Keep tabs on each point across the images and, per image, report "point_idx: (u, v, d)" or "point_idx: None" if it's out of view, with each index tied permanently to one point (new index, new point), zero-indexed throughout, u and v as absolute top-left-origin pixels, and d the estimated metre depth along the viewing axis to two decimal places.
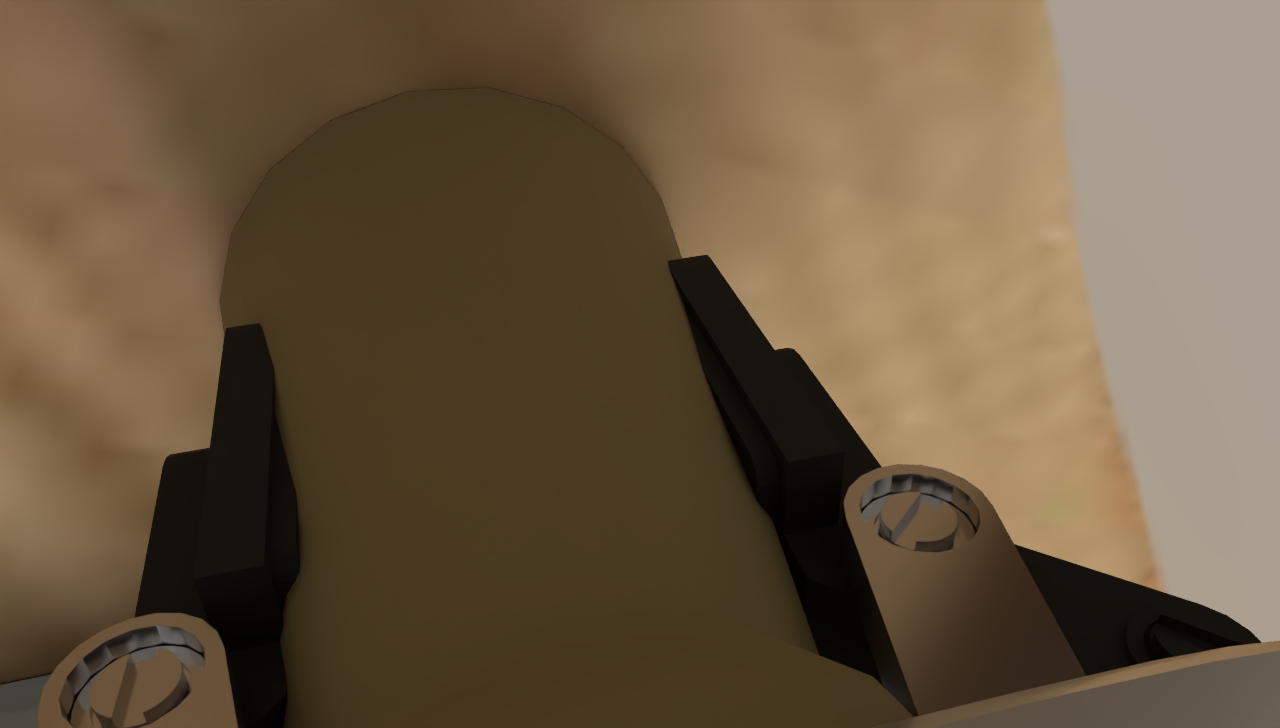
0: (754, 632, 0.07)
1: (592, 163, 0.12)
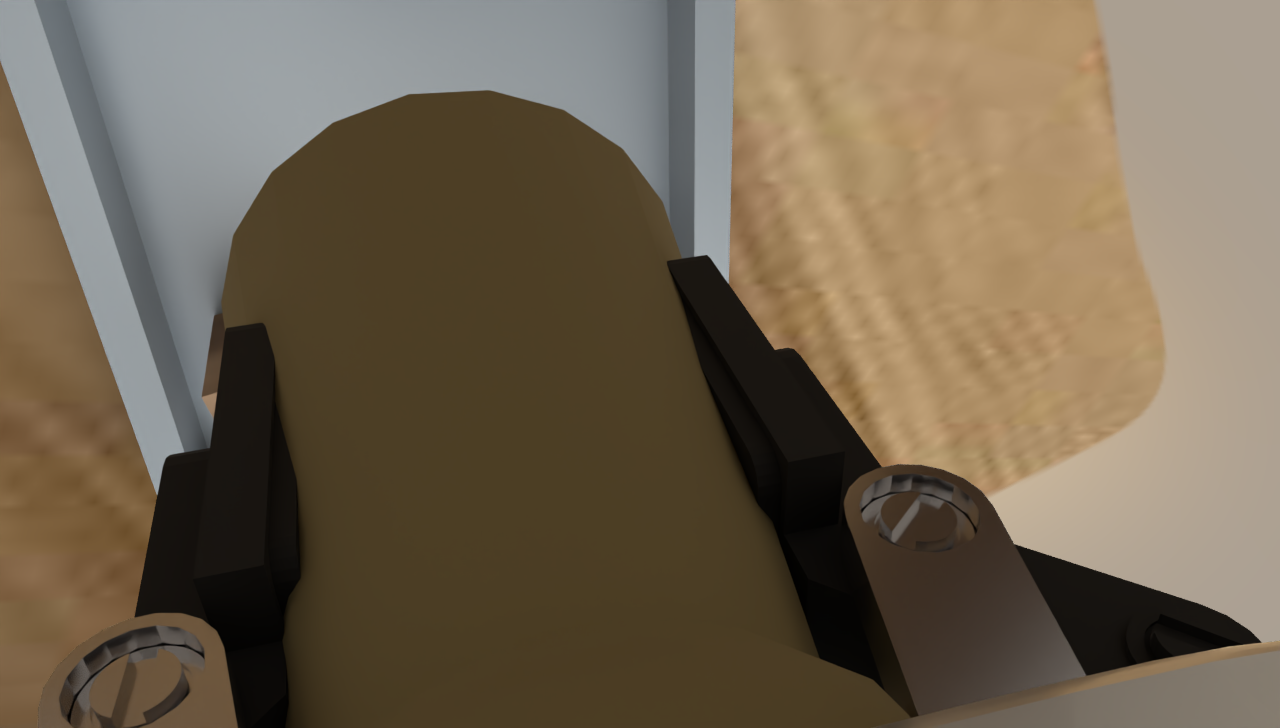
0: (755, 635, 0.07)
1: (593, 165, 0.12)
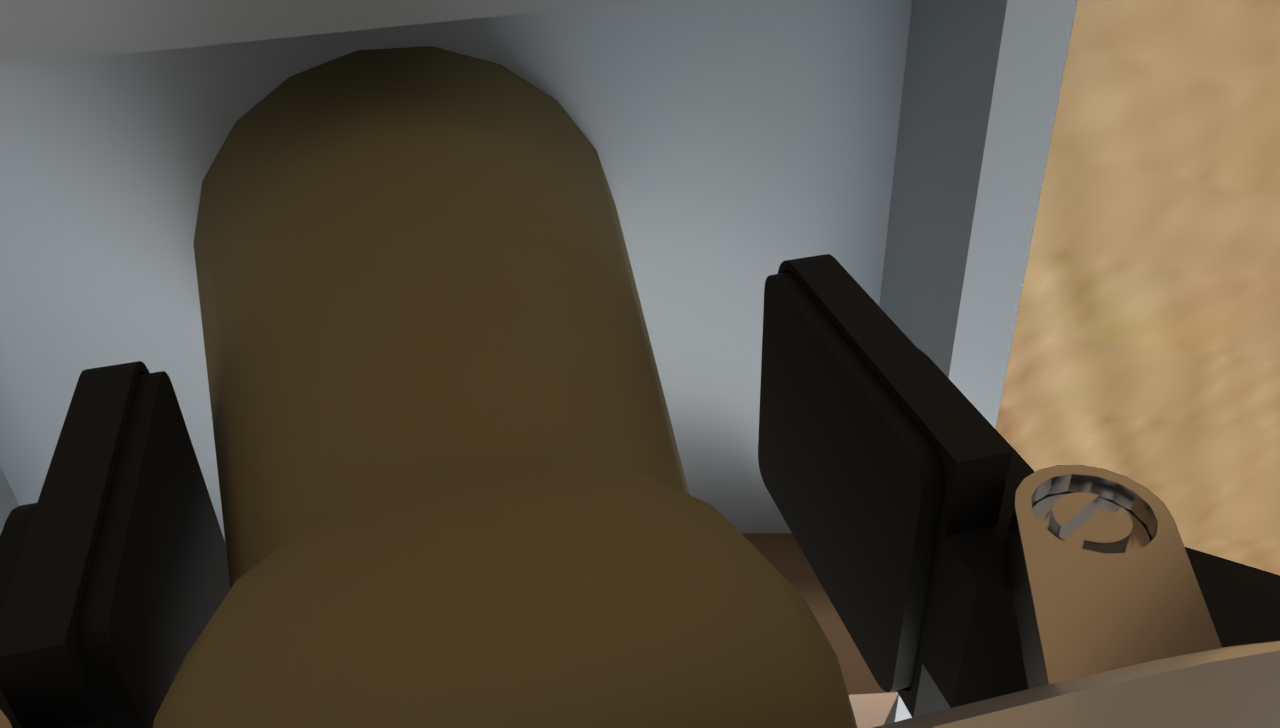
0: (609, 466, 0.08)
1: (523, 111, 0.13)
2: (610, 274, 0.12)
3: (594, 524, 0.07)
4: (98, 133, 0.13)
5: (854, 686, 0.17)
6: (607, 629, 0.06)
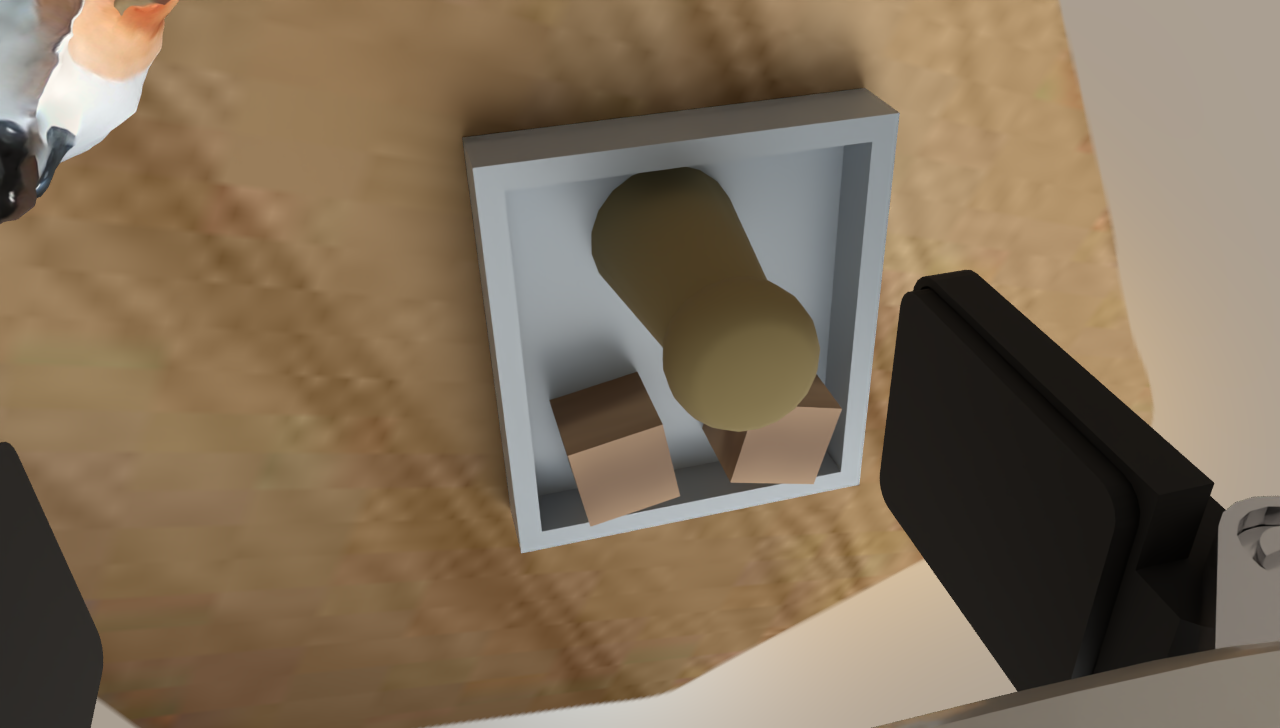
0: None
1: (711, 187, 0.40)
2: (746, 240, 0.38)
3: (763, 285, 0.34)
4: (570, 195, 0.40)
5: (824, 405, 0.44)
6: (769, 300, 0.33)
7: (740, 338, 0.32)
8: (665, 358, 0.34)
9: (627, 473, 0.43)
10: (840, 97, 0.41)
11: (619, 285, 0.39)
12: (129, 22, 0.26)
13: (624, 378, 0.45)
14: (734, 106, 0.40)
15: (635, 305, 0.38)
